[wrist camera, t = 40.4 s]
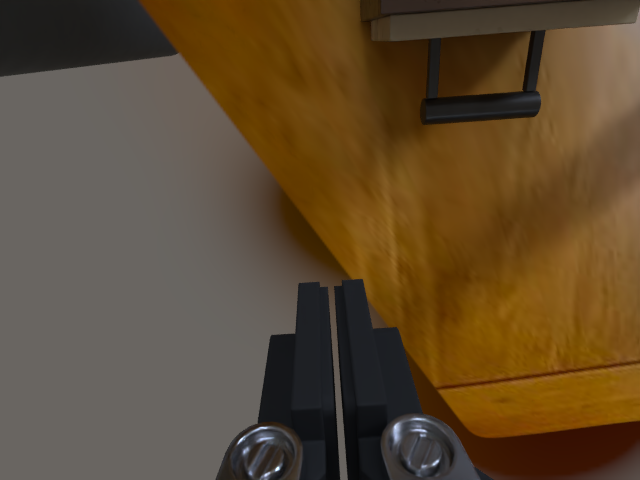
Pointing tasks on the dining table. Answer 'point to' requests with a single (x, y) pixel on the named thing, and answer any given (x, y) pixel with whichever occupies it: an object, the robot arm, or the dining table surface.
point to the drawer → (588, 10)
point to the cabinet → (431, 6)
